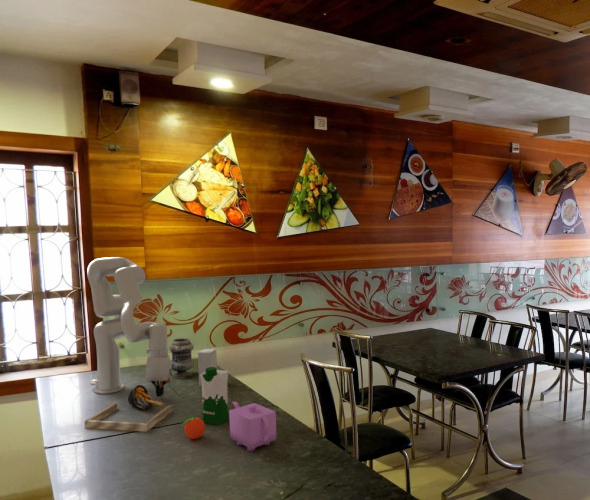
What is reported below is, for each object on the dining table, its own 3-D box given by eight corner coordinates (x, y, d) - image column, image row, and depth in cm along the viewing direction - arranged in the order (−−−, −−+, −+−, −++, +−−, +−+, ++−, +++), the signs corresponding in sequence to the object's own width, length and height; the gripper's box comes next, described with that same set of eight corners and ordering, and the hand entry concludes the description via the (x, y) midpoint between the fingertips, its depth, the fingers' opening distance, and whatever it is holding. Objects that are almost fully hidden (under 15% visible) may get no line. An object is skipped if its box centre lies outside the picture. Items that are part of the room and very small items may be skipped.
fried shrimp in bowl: (137, 389, 202) (171, 378, 196) (138, 416, 197) (173, 406, 191) (121, 387, 194) (156, 376, 188) (121, 415, 189) (158, 404, 183)
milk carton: (198, 423, 174) (197, 369, 174) (213, 414, 183) (211, 363, 182) (219, 426, 171) (217, 371, 170) (232, 418, 179) (231, 365, 178)
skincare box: (211, 386, 218) (210, 352, 218) (197, 386, 219) (196, 352, 219) (218, 381, 226) (217, 348, 226) (204, 380, 228) (204, 348, 227)
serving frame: (84, 428, 173) (84, 421, 173) (114, 408, 192) (114, 402, 192) (146, 431, 168) (146, 424, 168) (171, 411, 187) (171, 405, 187)
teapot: (281, 446, 153) (280, 408, 153) (255, 456, 147) (254, 416, 146) (245, 429, 168) (244, 393, 168) (221, 437, 162) (220, 400, 161)
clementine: (184, 444, 156) (183, 423, 156) (179, 437, 163) (178, 416, 162) (208, 439, 160) (207, 418, 160) (202, 432, 166) (201, 412, 166)
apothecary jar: (181, 380, 229) (180, 343, 228) (164, 377, 235) (163, 340, 235) (199, 374, 239) (198, 338, 238) (182, 371, 245) (181, 336, 245)
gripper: (137, 354, 201) (139, 398, 201) (171, 355, 198) (172, 399, 198) (146, 350, 208) (148, 392, 209) (178, 351, 205) (180, 393, 206)
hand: (159, 395), depth 203 cm, fingers closed
